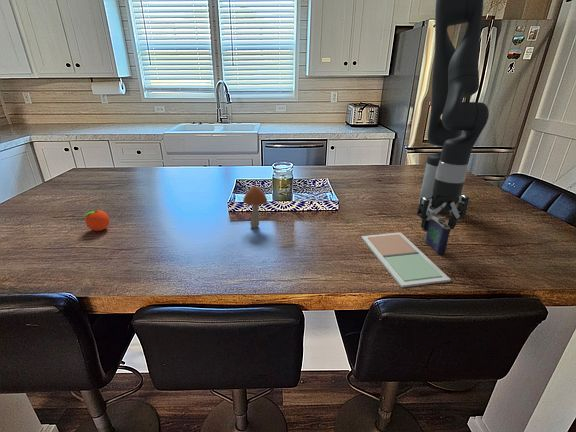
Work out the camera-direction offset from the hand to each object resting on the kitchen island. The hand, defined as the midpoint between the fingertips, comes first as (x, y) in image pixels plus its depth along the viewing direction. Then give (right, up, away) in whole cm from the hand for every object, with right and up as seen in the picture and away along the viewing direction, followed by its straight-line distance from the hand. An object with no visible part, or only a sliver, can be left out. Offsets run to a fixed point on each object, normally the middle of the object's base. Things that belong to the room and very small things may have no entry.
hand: (437, 229), depth 95 cm
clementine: (-109, -1, +12) cm, 110 cm away
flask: (0, -6, +3) cm, 7 cm away
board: (-12, -8, -2) cm, 14 cm away
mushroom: (-56, 0, +15) cm, 58 cm away
